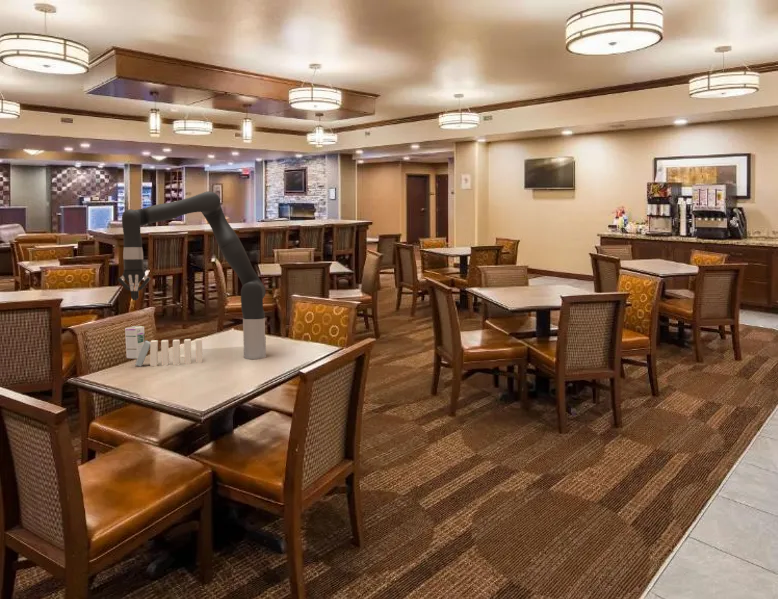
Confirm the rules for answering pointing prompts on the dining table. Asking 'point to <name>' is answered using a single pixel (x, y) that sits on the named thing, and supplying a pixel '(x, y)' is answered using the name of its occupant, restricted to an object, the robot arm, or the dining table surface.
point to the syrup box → (134, 341)
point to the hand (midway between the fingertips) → (134, 300)
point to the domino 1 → (143, 353)
